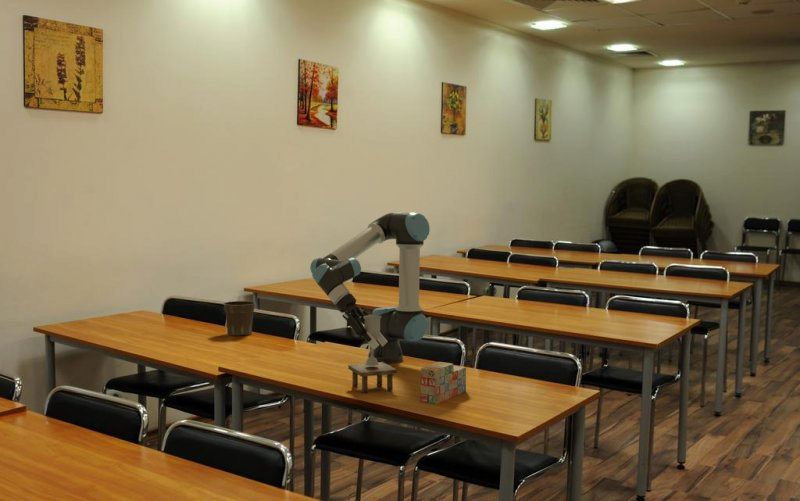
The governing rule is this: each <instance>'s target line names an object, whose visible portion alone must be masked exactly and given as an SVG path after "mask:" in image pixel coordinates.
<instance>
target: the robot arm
mask: <svg viewBox="0 0 800 501" xmlns="http://www.w3.org/2000/svg"><path fill="white" fill-rule="evenodd" d="M430 232H431V231H430V224H429V221H428V219H427V218H426V216H425V215H424V214H422V213H419V212H413V211H412V212H405V211H403V212H400V211H393V212H389V213H387V214H384V215H382V216H380V217H378V218H377V219H375V220H374V221H372V222H371V223H369V224H368V226H367V228H365V230H363V231H362V232H360V233H358V234H356V235H355V236H354V237H353V238H351V239H349V240H348V241H346V242H345V243H343V244H342V245H341V246H339V247H337V248H336V249H335V250H333V251H332V252H331V253H329V254H326V256H324V257H323V258H322V257H318V258H314V259H313V260H312V261H311V263H310V272H311V276H312V278H313V280H314V281H315V282H316V284H317V285H318V286H319V287H320V289H321V290H322V291H323V292H324V293H325V295H326V296H327V297H328V298H329V299H330V302H332V303H333V304H334V305H335V307H336V308H337V310H338V311H339V312H340V313H342V318H343V319H344V320H345V321H346V322H347V323H348V325H349V326H350V328H351V329H352V330H353V332H354V333H355V334H356V335H357V336H358V337H359V338H362V337H363V339H365V341H366V342H367V343H368V344H369V351H368V354H367V359H368V358H370V357H371V352H370V351H371V347H372V348H373V350H374V353H373V356H374V358H376V359H377V361H378V362H383V363H385V364H395V363H400V362H402V361H403V359H404V358H403V356H404V355H403V350H402V348H401V345H400V340H405V341H406V342H418V341H420V340H421V339H423V338H424V336H425V335H426V334H427V331H428V327H429V321H428V318H427V317H426V316H425V315H424V314H423V308H422V307H421V306H420V271H421V270H420V266H421V265H420V264H421V263H420V259H421V256H420V255H421V250H420V249H421V248H422V247H423V246H424V241H425V240H427V238H428V236H429V235H430ZM388 240H395V245H396V246H397V247H398V248H399V258H398V259H399V262H398V263H399V265H398V266H399V268H398V271H399V272H398V305H397V306H388V307H387V306H386V307H377V308H374V309H373V310H372V315H378V316H381V319H380V331H379V334H378V337H377V339H376V340H375V339H374V338H373V336H372V335H371V334H370V333H369V331H368V332H367V331H366V329H365V328H364V325H365V320H364V317H363V316H367V315H370V314H369V313H368V311H367V310H366V309H365V307H364V306H362V307H361V308H360V307H359V306H358V305H357V304H356V303H357V299H356V298H355V296H353V294H352V293H351V292H350V290H349V289H348V288H347V287H346V285H345V284H344V283H345V282H347V281H350V280H352V279H354V278H355V277H357V276H359V275H360V274H361V271H362V266H361V263H360V261H359V260H358V259H356V258H358V257H359V256H360V255H362V254H364V253H365V252H367V251H369V250H370V249H371V248H372V247H374V246H375V245H377V244H382V243H384V242H385V241H388ZM366 332H367V333H366ZM370 346H371V347H370Z"/></svg>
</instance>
